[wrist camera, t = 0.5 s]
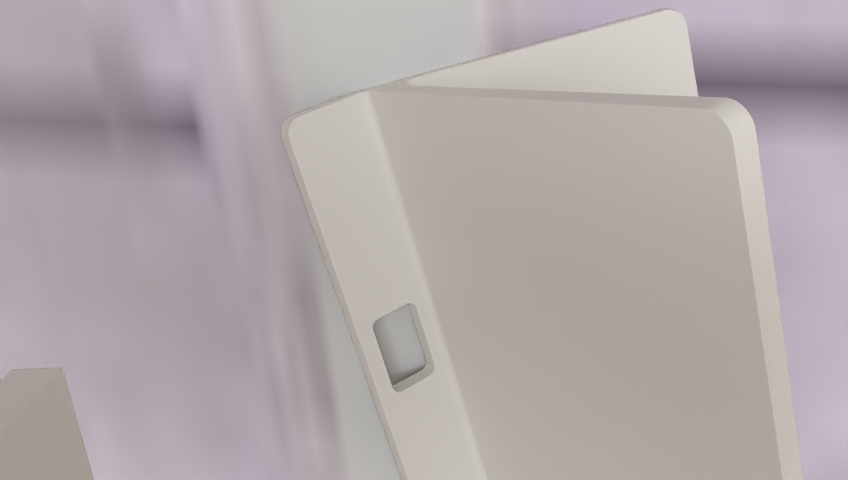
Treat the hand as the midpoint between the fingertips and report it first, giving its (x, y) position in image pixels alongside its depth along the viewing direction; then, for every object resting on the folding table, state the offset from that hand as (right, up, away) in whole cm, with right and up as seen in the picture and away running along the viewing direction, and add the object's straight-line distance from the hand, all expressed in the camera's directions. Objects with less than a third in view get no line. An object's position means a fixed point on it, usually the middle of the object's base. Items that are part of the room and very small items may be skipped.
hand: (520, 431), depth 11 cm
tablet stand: (+4, 0, +29) cm, 30 cm away
